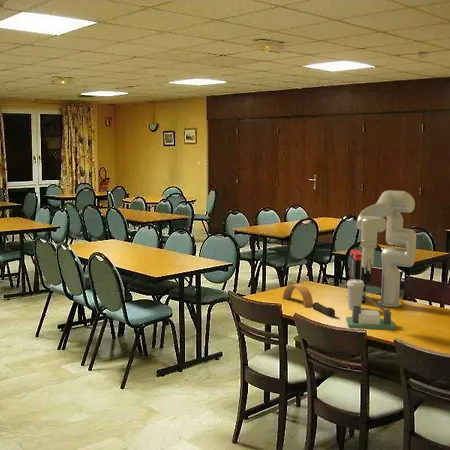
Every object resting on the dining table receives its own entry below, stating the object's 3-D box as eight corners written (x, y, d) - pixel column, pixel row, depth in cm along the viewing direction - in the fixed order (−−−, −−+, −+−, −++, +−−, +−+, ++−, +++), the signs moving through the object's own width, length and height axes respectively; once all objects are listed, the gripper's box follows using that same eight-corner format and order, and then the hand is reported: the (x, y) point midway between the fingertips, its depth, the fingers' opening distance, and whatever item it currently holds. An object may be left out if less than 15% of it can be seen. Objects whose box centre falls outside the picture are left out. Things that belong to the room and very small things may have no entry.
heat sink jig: (346, 319, 304) (346, 303, 303) (391, 321, 301) (392, 305, 300) (348, 327, 291) (349, 310, 290) (395, 329, 289) (396, 312, 288)
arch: (290, 297, 346) (291, 280, 345) (312, 306, 329) (313, 288, 328) (282, 299, 343) (282, 281, 342) (304, 307, 326) (305, 289, 325)
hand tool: (311, 309, 323) (312, 301, 322) (318, 308, 324) (318, 300, 324) (329, 319, 305) (329, 310, 305) (336, 318, 307) (336, 309, 306)
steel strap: (361, 294, 296) (364, 291, 296) (387, 313, 296) (390, 310, 296) (362, 295, 294) (364, 292, 293) (388, 315, 293) (391, 311, 293)
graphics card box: (366, 303, 336) (368, 254, 332) (353, 303, 336) (355, 254, 332) (359, 295, 353) (361, 249, 349) (347, 295, 353) (349, 249, 349)
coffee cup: (363, 311, 319) (365, 283, 317) (345, 310, 321) (346, 282, 319) (363, 306, 329) (364, 279, 327) (345, 305, 331) (346, 278, 329)
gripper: (359, 241, 299) (357, 277, 302) (362, 245, 285) (360, 284, 287) (374, 241, 299) (372, 278, 301) (378, 246, 284) (376, 285, 286)
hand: (366, 281), depth 294 cm, fingers closed
